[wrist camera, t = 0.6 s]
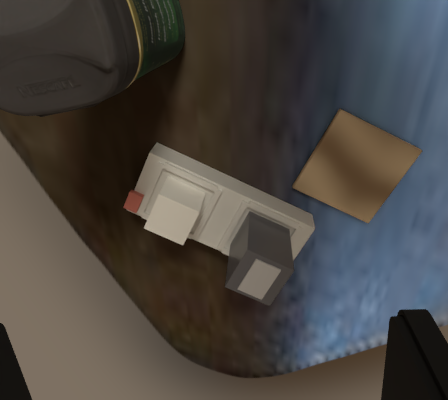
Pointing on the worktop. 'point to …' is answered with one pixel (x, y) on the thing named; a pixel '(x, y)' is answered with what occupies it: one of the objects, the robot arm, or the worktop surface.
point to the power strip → (206, 203)
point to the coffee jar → (81, 50)
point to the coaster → (355, 166)
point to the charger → (259, 259)
